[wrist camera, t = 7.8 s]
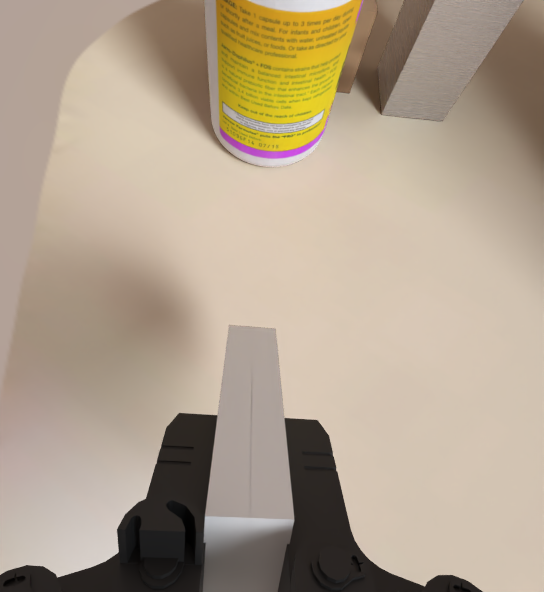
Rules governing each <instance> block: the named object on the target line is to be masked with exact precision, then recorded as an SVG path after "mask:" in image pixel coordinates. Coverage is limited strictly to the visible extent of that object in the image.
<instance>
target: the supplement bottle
mask: <svg viewBox="0 0 544 592" xmlns="http://www.w3.org/2000/svg"><path fill="white" fill-rule="evenodd" d="M362 3H363V0H204V9H205V25H206V43H207V60H208V78H209V95H210V109H211V120H212V126H213V129H214V132H215V134H216V136H217V138H218V139H219V141H220V142H221V144H222V145H223V146H224V147H225V148H226V149H227V150H228V151H229V152H230V153H232V154H233V155H234V156H236V157H237V158H239V159H241V160H243V161H245V162H247V163H250V164H254V165H258V166H263V167H281V166H286V165H290V164H293V163H296V162H298V161H300V160H302V159H304V158H305V157H307V156H308V155H309V154H310V153H312V152H313V151H314V149H315V148H316V147H317V146H318V144H319V143H320V141H321V139H322V136H323V133H324V130H325V127H326V124H327V121H328V118H329V114H330V111H331V107H332V104H333V101H334V97H335V94H336V90H337V87H338V84H339V80H340V77H341V73H342V70H343V67H344V64H345V60H346V57H347V53H348V50H349V47H350V43H351V40H352V37H353V33H354V30H355V27H356V23H357V20H358V17H359V13H360V10H361V7H362Z"/></svg>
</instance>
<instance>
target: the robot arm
mask: <svg viewBox="0 0 544 592" xmlns="http://www.w3.org/2000/svg"><path fill="white" fill-rule="evenodd" d="M117 533H118V546H119V553H118V554H116V555H115V556H113V557H112V558H110V559H109V560H107V561H106V562H103V563H101V564H99V565H96V566H94V567H91V568H88V569H85V570H81V571H78V572H75V573H71V574H68V575H65V576H62V577H58V578H57V576H56V574H54V573H53V572H51V571H50V570H48V569H47V568H45V567H43V566H29V565H26V566H23V567H19V568H16V569H12V570H9V571H6V572H5V573H3V574H1V575H0V592H482V591H481V590H480V589H478V588H477V587H475V586H474V585H473V584H471V583H470V582H469V581H466V580H464V579H461V578H458V577H456V576H453V575H438V576H436V577H435V578H433V579H431V580H430V581H428V582H427V584H426V586H422V585H419V584H417V583H414V582H412V581H409V580H406V579H404V578H401V577H398V576H396V575H393V574H391V573H389V572H387V571H385V570H383V569H381V568H379V567H378V566H377V565H375V564H374V563H373V562H371V561H370V560H369V559H368V558H367V557H366V556H365V554H364V553H363V552H362V551H361V550H360V548H359V547H358V545H357V543H356V542H355V540H354V537H353V535H352V532H351V529H350V524H349V520H348V516H347V512H346V507H345V503H344V499H343V495H342V490H341V486H340V482H339V477H338V473H337V472H336V465H335V460H334V456H333V452H332V447H331V443H330V439H329V435H328V434H327V432H326V431H325V430H324V428H323V427H322V426H321V424H320V423H319V422H318V420H307V419H290V418H284V409H283V399H282V389H281V378H280V368H279V358H278V348H277V338H276V329H274V328H261V327H249V326H236V325H229V330H228V338H227V346H226V353H225V361H224V369H223V377H222V385H221V393H220V401H219V409H218V415H202V414H185V413H179V414H178V415H177V416H176V417H175V419H174V420H173V421H172V422H171V423H170V424H169V425H168V426H167V428H166V431H165V435H164V438H163V442H162V445H161V449H160V452H159V455H158V459H157V464H156V466H155V469H154V473H153V476H152V480H151V483H150V487H149V490H148V494H147V497H146V499H145V500H143V501H140V502H138V503H137V504H136V505H135V506H134V507H133V508H132V509H131V510H130V511H128V512H127V513H126V514H125V516H124V518H123V520H122V522H121V523H120V525H119V527H118V529H117Z"/></svg>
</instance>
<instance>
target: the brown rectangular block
mask: <svg viewBox="0 0 544 592" xmlns="http://www.w3.org/2000/svg"><path fill="white" fill-rule="evenodd" d="M376 15H377V3H376V0H363V3H362V7H361V10H360V13H359V17H358V20H357V23H356V27H355V30H354V33H353V37H352V40H351V43H350V47H349V50H348V53H347V57H346V60H345V64H344V67H343V70H342V73H341V77H340V80H339V84H338V87H337V90H336V92H344V93H350V90H351V87H352V84H353V81H354V78H355V76H356V73H357V70H358V67H359V64H360V61H361V58H362V55H363V52H364V49H365V47H366V44H367V41H368V38H369V35H370V32H371V29H372V26H373V23H374V20H375V18H376Z"/></svg>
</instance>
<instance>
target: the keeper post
mask: <svg viewBox="0 0 544 592" xmlns="http://www.w3.org/2000/svg"><path fill="white" fill-rule="evenodd" d="M522 2H523V0H404V3H403V5H402V8H401V10H400V13H399V15H398V18H397V20H396V23H395V25H394V28H393V30H392V33H391V35H390V38H389V40H388V43H387V45H386V48H385V50H384V53H383V55H382V58H381V60H380V63H379V65H378V79H379V91H380V103H381V114H382V115H389V116H399V117H408V118H418V119H427V120H436V121H443V120H444V118H445V117H446V115H447V114H448V112H449V111H450V109H451V108H452V106H453V105H454V103H455V102H456V101H457V99H458V98H459V96H460V95H461V93H462V92H463V90H464V89H465V87H466V86H467V84H468V83H469V81H470V80H471V78H472V77H473V75H474V74H475V72H476V71H477V69H478V68H479V66H480V65H481V63H482V62H483V60H484V59H485V57H486V56H487V54H488V53H489V51H490V50H491V48H492V47H493V45H494V44H495V42H496V41H497V39H498V38H499V36H500V35H501V33H502V32H503V30H504V29H505V27H506V26H507V24H508V23H509V21H510V20H511V18H512V17H513V15H514V14H515V12H516V11H517V9H518V8H519V6H520V5H521V3H522Z"/></svg>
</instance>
